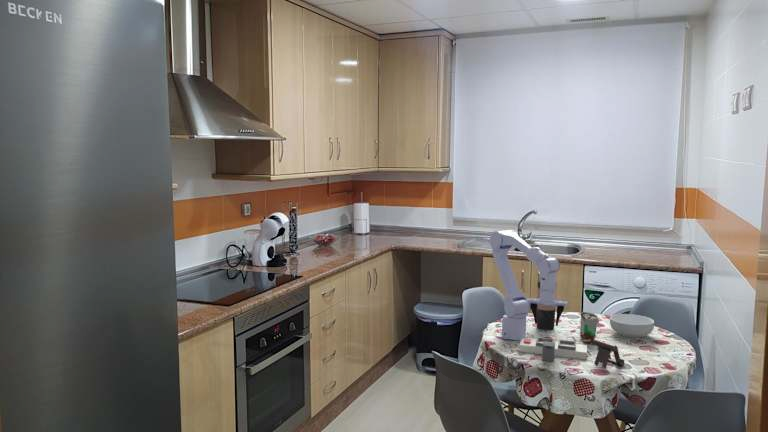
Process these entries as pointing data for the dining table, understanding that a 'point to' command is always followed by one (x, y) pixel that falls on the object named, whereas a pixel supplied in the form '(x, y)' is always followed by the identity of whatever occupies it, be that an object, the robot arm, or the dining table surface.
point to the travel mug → (545, 315)
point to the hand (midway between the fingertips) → (546, 324)
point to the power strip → (561, 347)
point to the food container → (588, 327)
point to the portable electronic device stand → (607, 354)
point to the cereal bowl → (631, 325)
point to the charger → (548, 351)
